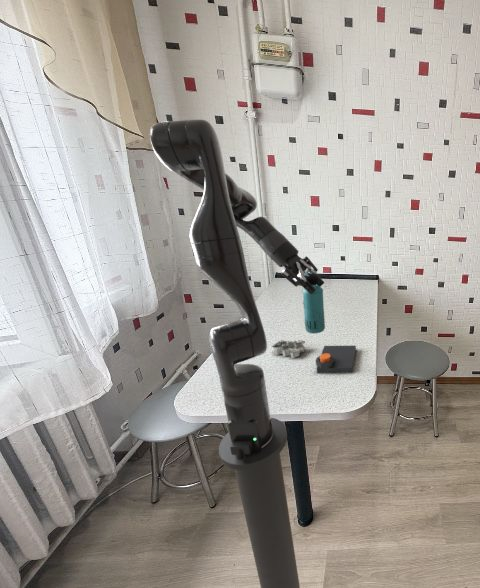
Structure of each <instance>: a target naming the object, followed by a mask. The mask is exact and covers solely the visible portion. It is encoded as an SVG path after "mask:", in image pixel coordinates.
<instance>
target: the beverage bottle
mask: <svg viewBox="0 0 480 588" xmlns="http://www.w3.org/2000/svg"><path fill="white" fill-rule="evenodd" d="M318 276H319V275H318ZM318 276H314V275H312V276H307V275H306V276H305V279H306V282H307V281H308V282H309V283H310V284H311V285H312V286H313V287H314V288H315V289H316V290H315V291H314V292H313V293H312V294H310V293H309V292H307V291H306V290H305V289H304V288H303V289H302V297H303V298H302V299H303V300H302V304H303V314H304V315H303V316H304V328H305V331H306V333H309V334H320V333H322V332H324V331H325V329H326V324H325V323H326V321H325V320H326V319H325V308H324V307H325V306H324V288H323V287H322V286H321V287H320V286H318V285H317V284H319V277H320V276H319V277H318Z"/></svg>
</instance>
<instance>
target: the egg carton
mask: <svg viewBox="0 0 480 588" xmlns="http://www.w3.org/2000/svg"><path fill="white" fill-rule="evenodd" d="M305 343H306V341H305V340H303V339H302V340H300V339H299V340H285V339H281V340H278V341H277V342H276V343H274V344H272V345H271V348H273V352H274V355H275V356H279V355H282V357H289V356H290V357H291V359H295V358H298V357H300V354H301V353H304V352H305V346H304V345H305Z"/></svg>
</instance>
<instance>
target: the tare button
mask: <svg viewBox="0 0 480 588" xmlns="http://www.w3.org/2000/svg"><path fill="white" fill-rule="evenodd" d="M319 356H320V362H322V363H327V362H329V361H330V360H331V356H330V354H328V353H324V354H322V353H321V354H320V355H319Z"/></svg>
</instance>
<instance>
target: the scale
mask: <svg viewBox="0 0 480 588" xmlns="http://www.w3.org/2000/svg"><path fill="white" fill-rule="evenodd" d="M356 352H357V345H324V346H323V348H322V351H321V354H324V353H328V354H330V356H331V360H330V361H329V362H327V363H322V362H320V355H319V356H317V357H316V358H315V365H316V374H322V373H323V374H324V373H325V374H328V373H353V370H354V364H355V358H356V357H355V356H356Z"/></svg>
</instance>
